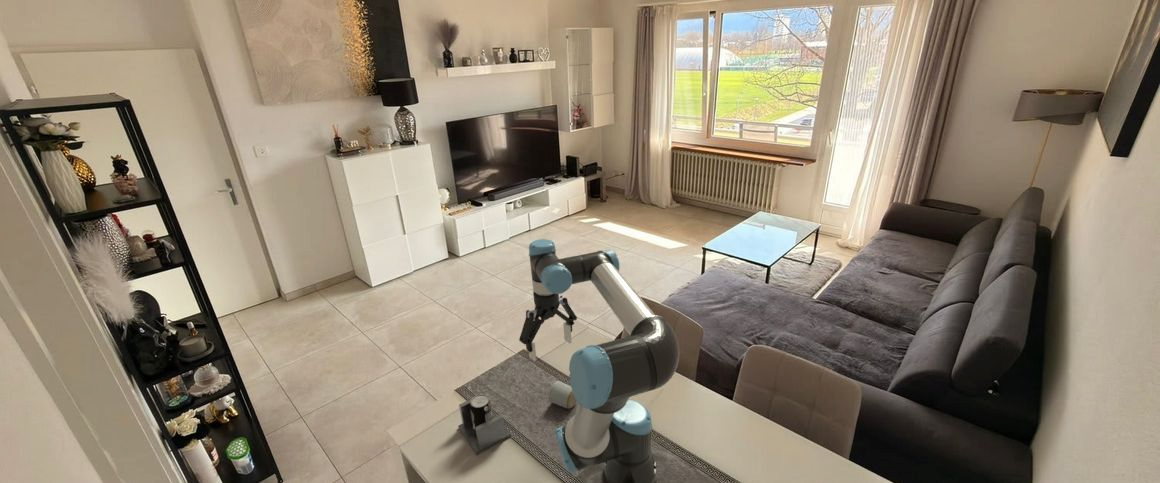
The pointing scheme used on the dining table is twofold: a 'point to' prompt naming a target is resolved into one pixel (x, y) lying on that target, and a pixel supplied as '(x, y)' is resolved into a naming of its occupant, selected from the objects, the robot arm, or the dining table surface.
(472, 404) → the beverage can
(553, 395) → the ceramic mug
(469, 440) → the holder
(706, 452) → the dining table surface
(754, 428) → the dining table surface
